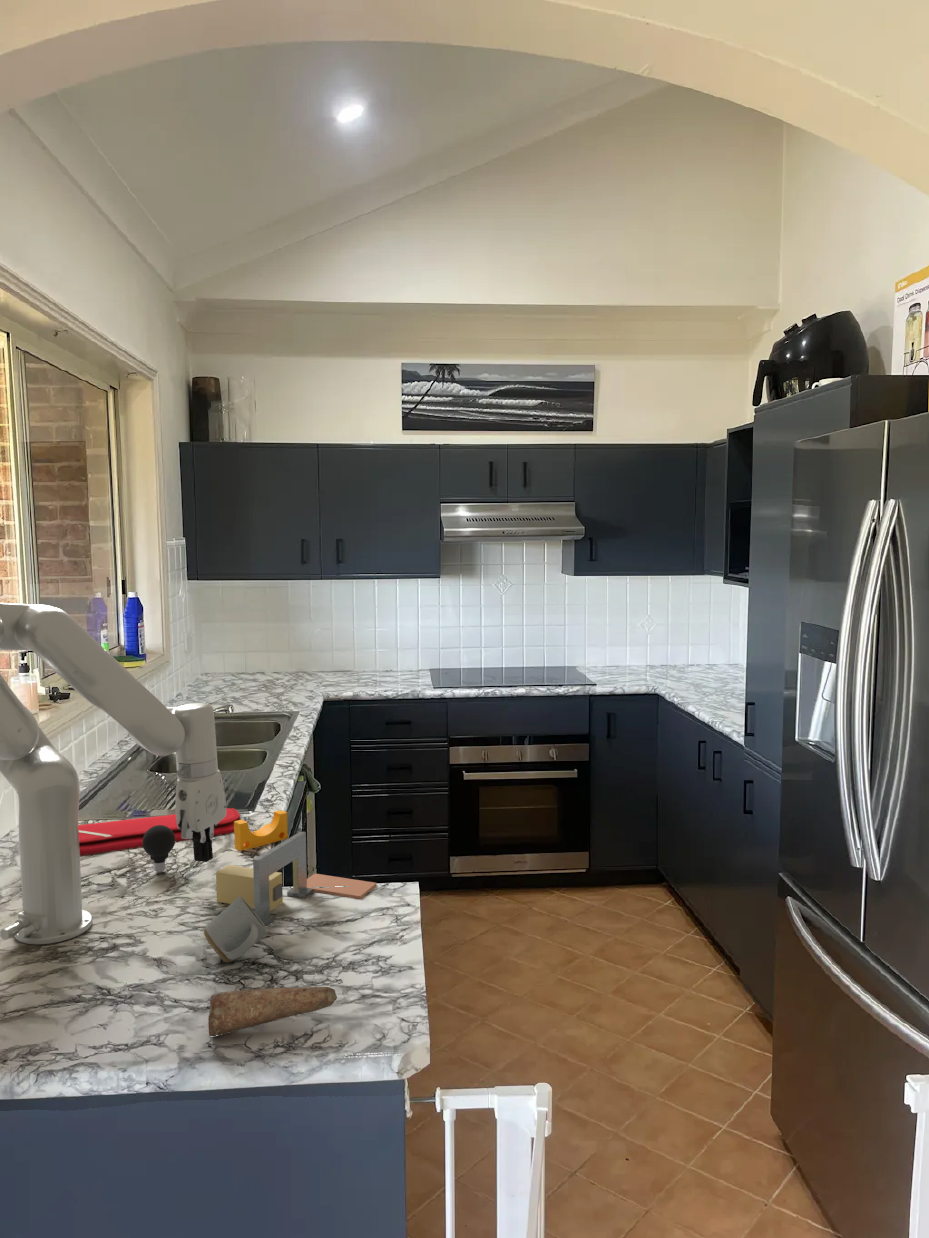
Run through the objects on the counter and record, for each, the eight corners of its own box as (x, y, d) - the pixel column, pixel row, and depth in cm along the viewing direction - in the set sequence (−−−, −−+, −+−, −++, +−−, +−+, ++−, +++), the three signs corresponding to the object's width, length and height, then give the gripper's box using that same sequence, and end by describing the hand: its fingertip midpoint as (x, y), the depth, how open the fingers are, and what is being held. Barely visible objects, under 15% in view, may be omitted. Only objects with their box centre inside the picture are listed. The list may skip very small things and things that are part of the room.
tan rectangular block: (273, 912, 165) (272, 880, 165) (216, 902, 170) (215, 872, 169) (285, 903, 169) (284, 873, 168) (229, 894, 173) (228, 864, 173)
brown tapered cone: (206, 1025, 127) (205, 984, 126) (331, 1003, 133) (331, 963, 132) (209, 1049, 121) (208, 1006, 120) (340, 1024, 127) (339, 984, 126)
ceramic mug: (227, 963, 148) (201, 925, 149) (269, 930, 151) (242, 893, 152) (225, 970, 138) (196, 929, 139) (269, 935, 141) (240, 895, 142)
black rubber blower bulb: (165, 864, 189) (163, 818, 188) (182, 872, 184) (180, 825, 184) (137, 873, 184) (135, 826, 183) (154, 881, 180) (152, 833, 179)
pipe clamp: (277, 835, 207) (277, 808, 207) (287, 839, 204) (287, 812, 204) (230, 847, 199) (230, 819, 199) (240, 852, 196) (239, 824, 196)
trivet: (360, 899, 171) (360, 896, 170) (296, 889, 175) (296, 886, 175) (376, 885, 177) (376, 882, 177) (314, 876, 182) (314, 873, 182)
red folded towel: (247, 833, 210) (246, 818, 209) (55, 862, 191) (54, 845, 191) (233, 815, 224) (232, 800, 223) (53, 840, 206) (52, 824, 205)
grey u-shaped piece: (267, 926, 159) (265, 861, 158) (248, 923, 160) (246, 858, 159) (313, 892, 174) (312, 833, 172) (295, 890, 175) (294, 830, 174)
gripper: (188, 780, 163) (195, 877, 165) (236, 759, 177) (242, 848, 179) (155, 777, 166) (162, 872, 168) (205, 756, 179) (211, 844, 182)
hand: (203, 859), depth 173 cm, fingers closed
